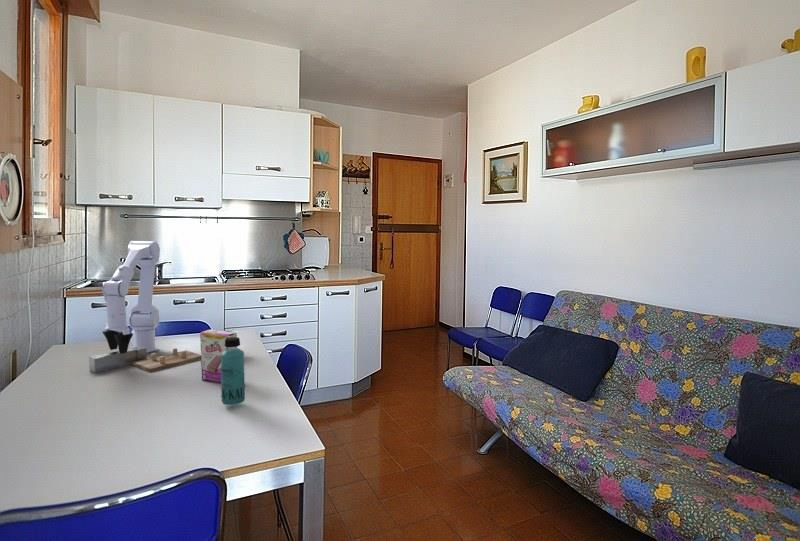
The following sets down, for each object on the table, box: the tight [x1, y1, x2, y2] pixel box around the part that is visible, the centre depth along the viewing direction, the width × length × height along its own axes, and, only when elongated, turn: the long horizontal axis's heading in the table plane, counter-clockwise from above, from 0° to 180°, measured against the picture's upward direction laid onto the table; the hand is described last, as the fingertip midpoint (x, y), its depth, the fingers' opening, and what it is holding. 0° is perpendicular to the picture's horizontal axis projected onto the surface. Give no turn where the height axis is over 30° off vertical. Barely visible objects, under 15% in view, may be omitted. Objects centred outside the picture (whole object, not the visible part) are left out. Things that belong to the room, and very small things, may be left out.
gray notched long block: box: [88, 346, 148, 374], centre depth 168 cm, size 17×4×5 cm, turn 144°
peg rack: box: [132, 347, 201, 373], centre depth 172 cm, size 12×20×4 cm, turn 145°
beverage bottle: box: [220, 337, 246, 406], centre depth 132 cm, size 6×7×20 cm
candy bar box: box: [199, 329, 238, 384], centre depth 153 cm, size 11×5×16 cm, turn 71°
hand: (118, 351), depth 167 cm, fingers open, 7 cm apart
